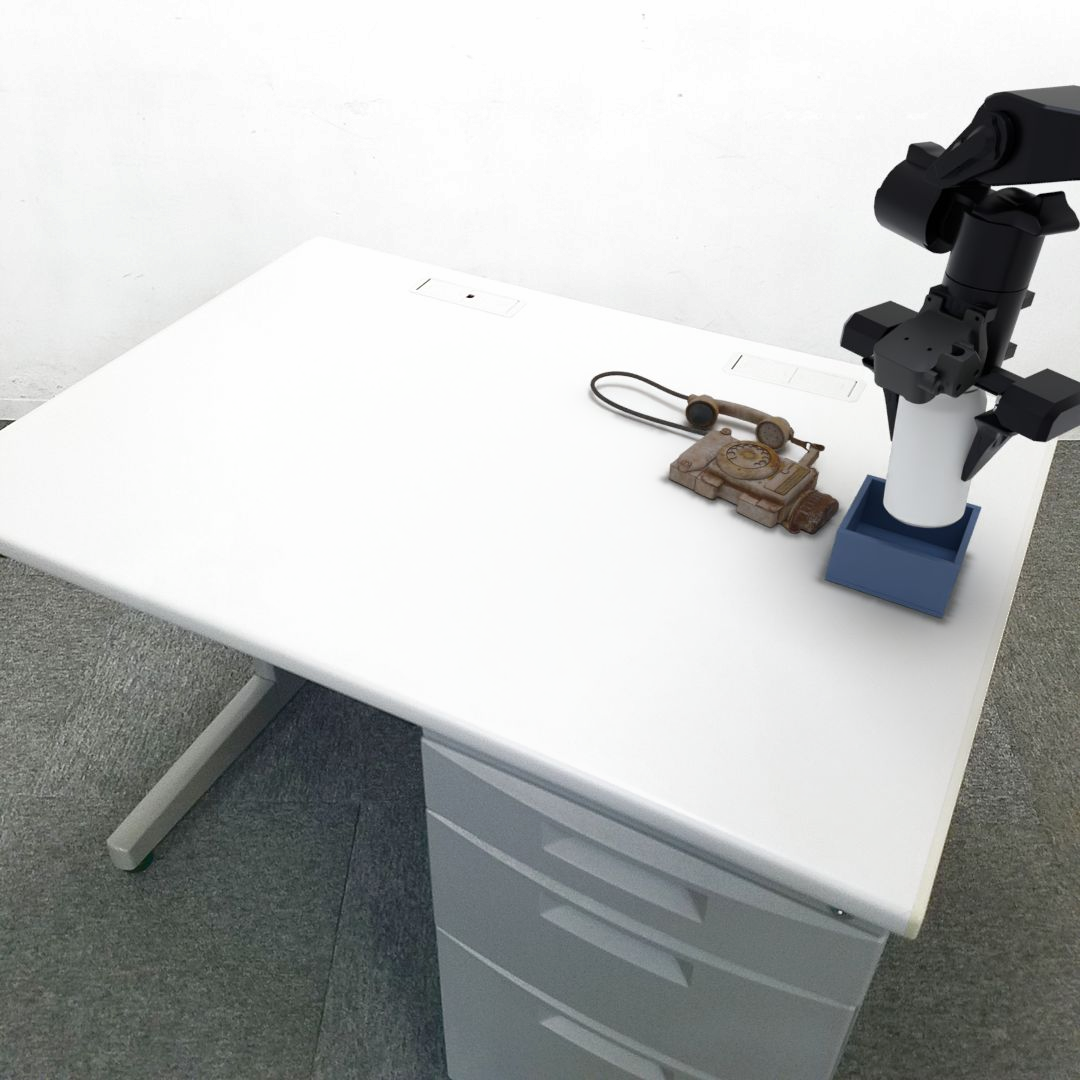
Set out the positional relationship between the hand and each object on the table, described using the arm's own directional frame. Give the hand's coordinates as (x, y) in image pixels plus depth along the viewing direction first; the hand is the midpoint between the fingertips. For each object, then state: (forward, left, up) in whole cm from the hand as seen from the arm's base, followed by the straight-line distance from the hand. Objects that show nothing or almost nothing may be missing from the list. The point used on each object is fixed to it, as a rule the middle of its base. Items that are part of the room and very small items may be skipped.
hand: (930, 459), depth 79 cm
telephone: (+25, 0, -13) cm, 28 cm away
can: (-1, 0, -5) cm, 5 cm away
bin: (+1, -2, -13) cm, 13 cm away
